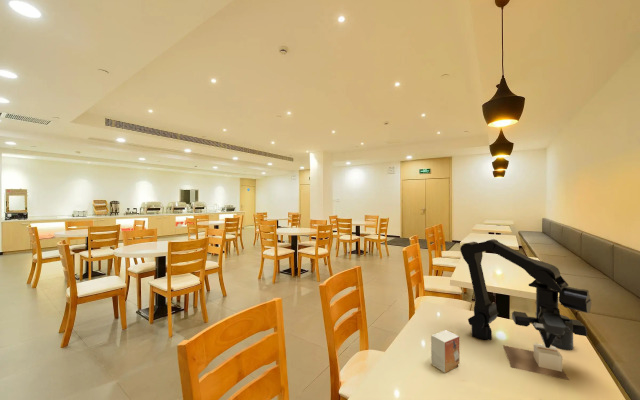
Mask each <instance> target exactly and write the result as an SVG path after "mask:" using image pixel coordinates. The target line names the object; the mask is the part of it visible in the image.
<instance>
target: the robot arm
mask: <svg viewBox="0 0 640 400" xmlns="http://www.w3.org/2000/svg"><path fill="white" fill-rule="evenodd" d="M459 249H460V250H459V251H460V254H461V255H462V258H463V260H464V261H465V262H466V264H467V267H468V271H469V276H470V280H471V284H472V288H473V294H474V298H475V299H474V306H473V315H472V316H471V317H468V319H467V320H468V324H469V325H470V327H471V329H470V330H471V331H470V332H471V337H472V338H475V339H477V340H480V341H492V339H493V338H492V336H493V335H492V332H493V331H492V328H491V326H490V324H491V323H492V322H493V321H495V320H496V319H497V318H498V315H499V311H498V310H497V303H493V302H492V301H491V300H490V298H489V294H488V293H489V292H488V289H487V285H486V280H485V276H484V271H483V267H482V260H483V256H484V255H483V254H484V253H483V252H488V251H489V252H493V253H495V254H496V255H497V256H499V257H502V258H503V259H505V260H506V261H509V262H511V263H512V264H514V265H516V266H518V267H520V268H522V269H523V270H524V271H525V272H526V273H527V274H528V276H530V277H532V278H533V279H534V280H533V281H532V282H531V283H528V287H532V288H535V317H534V316H528V314H527V313H526V312H522V311H515V310H514V311H512V312H511V319H512V320H513V322H514V324H515V325H517V326H522V327H529V326H530V325H532V326H533V328H534V329H535V330H536V331H538V332H539V334H540V337H541V340H542V343H543V345H545V347H546V348H549V347H550V346H552V345H551V344H552V342H553V340H554V338H555V337H556V336H557V335H564V333H565V331H567V332H570V331H572V332H573V335H578V336H583V337H587V336H588V329H587V327H586V326H585V325H584V324H583V323H582V322H581V321H580V320H579V319H571V318H569V319H566V318H561V316H560V315H561V312H560V309H559V303H560V306H562V307H564V308H567V309H571V310H574V311H578V312H582V313H587V314H589V313H590V312H591V309H592V299H591V296H590V291H589V290H588V289H583V288H575V287H571V286H569V284H568V282H567V281H566V280H565V279H564V278H563V277H562V275H561V272H560V270H559V268H558V267H557V266H555V265H553V264H550V263H548V262H545V261H542V260H539V259H538V260H537V259H534V258H531V257H529V256H527V255H525V254H524V253H521V252H519V251H517V250H515V249H514V248H511V247H510V246H508V245H506V244H503V243H502V242H500V241H499V240H497V239H488V240H486V241H481V242H477V241H470V242H466V243H463V244H462V245H461V246H460V247H459Z"/></svg>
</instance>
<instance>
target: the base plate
mask: <svg viewBox="0 0 640 400" xmlns="http://www.w3.org/2000/svg"><path fill="white" fill-rule="evenodd" d="M502 347H503V349H504V353H505V355H506V357H507V361H508V362H509V365H510V368H512V369H517V370H522V371H526V372H531V373H535V374H538V375H539V374H540V375H544V376H548V377H552V378H553V377H554V378H557V379H563V380H567V381H570V378H569V376H568V375H567V374H566V372H565V371H564V369H563V368H562V372H561V371H557V370H552V369H547V368H542V367H539V366H538V364H537V362H536V360H535V358H534V350H529V349H523V348H518V347H514V346H507V345H502Z"/></svg>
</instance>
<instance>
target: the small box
mask: <svg viewBox="0 0 640 400" xmlns="http://www.w3.org/2000/svg"><path fill="white" fill-rule="evenodd" d="M430 342H431V343H430V345H431V347H430V349H431V350H430V351H431V352H430V353H431V356H430V359H431V360H430V361H431V365H432V366H433V367H435V368H437V369H438V370H439V371H441V372H443V373H444V374H446V373H448V372H450V371H452V370H453V369H456V368H458V367H459V364H461V363H460V336H459V335H458V334H455V333H453V332H451V331H449V330H447V329H444V330H441V331H439V332H437V333H434V334H431V335H430Z"/></svg>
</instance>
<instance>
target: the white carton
mask: <svg viewBox="0 0 640 400" xmlns="http://www.w3.org/2000/svg"><path fill="white" fill-rule="evenodd" d="M533 351H534V358H535V360H536V362H537V364H538V366H539V367H542V368H547V369H552V370H557V371H561V372H562V369H563V356H562V354H561V353H560V352H559V350H558V348H556V347H554V346H552V345H551V346H550V347H549V348H546V347H545V345H544V344H541V343H538V342H537V343H536V342H533Z"/></svg>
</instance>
